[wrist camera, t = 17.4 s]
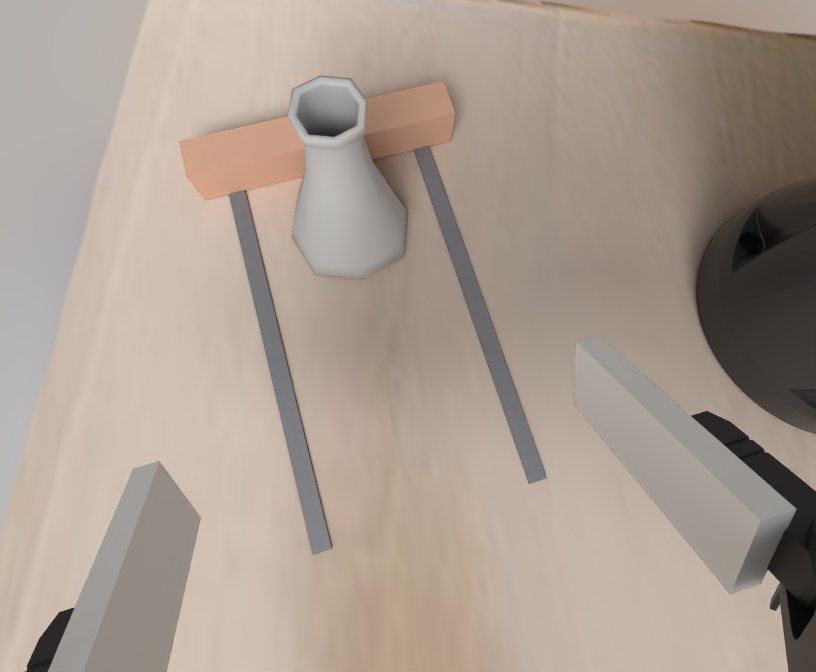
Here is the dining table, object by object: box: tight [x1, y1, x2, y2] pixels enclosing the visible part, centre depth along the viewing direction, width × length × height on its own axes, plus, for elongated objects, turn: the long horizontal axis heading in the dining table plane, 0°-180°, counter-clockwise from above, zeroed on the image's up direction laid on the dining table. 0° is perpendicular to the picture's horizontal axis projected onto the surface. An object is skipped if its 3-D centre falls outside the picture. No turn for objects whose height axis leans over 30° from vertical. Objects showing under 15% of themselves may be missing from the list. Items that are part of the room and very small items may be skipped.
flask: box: [288, 76, 408, 279], centre depth 22 cm, size 7×7×10 cm
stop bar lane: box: [179, 81, 546, 555], centre depth 25 cm, size 16×24×2 cm
